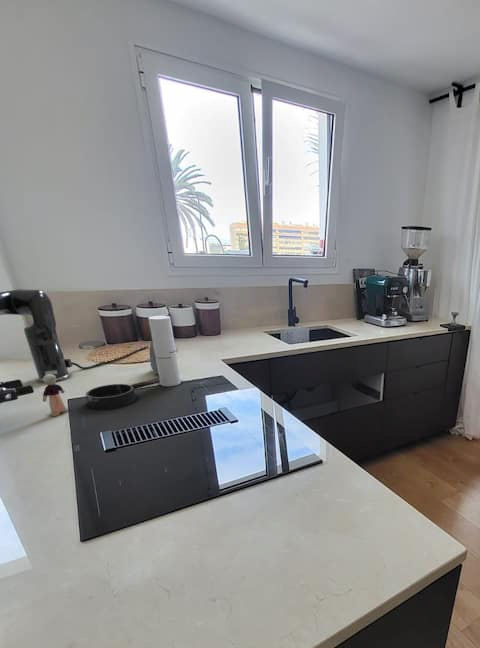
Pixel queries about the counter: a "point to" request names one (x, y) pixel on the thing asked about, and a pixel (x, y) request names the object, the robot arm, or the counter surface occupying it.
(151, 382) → the pan handle
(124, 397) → the pan
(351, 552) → the counter surface
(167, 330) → the cylindrical container
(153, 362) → the decorative rock
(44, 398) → the grandmother figurine
